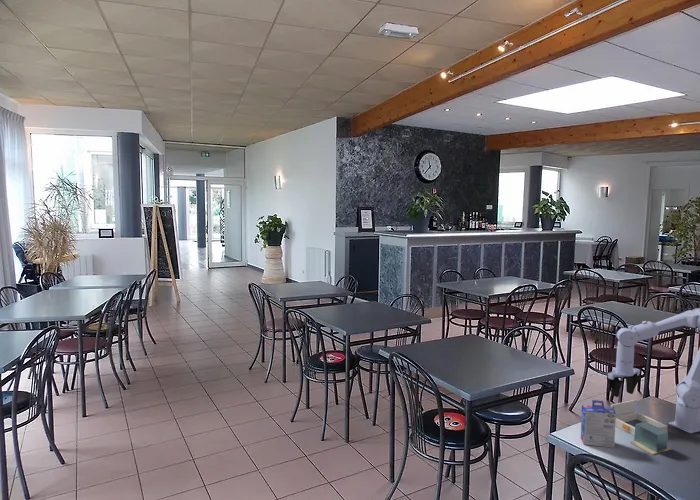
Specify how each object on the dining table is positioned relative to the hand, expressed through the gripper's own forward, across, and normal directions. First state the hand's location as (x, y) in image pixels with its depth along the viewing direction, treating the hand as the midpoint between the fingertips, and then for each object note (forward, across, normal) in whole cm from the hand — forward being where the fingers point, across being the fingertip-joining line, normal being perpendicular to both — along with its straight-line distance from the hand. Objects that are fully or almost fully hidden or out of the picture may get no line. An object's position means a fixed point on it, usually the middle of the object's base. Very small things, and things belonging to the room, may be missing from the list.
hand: (622, 394), depth 179 cm
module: (+9, +9, +18) cm, 22 cm away
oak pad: (+9, +9, +18) cm, 23 cm away
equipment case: (+9, +1, +8) cm, 12 cm away
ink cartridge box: (+10, +24, +10) cm, 28 cm away
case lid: (+9, +1, +1) cm, 10 cm away
